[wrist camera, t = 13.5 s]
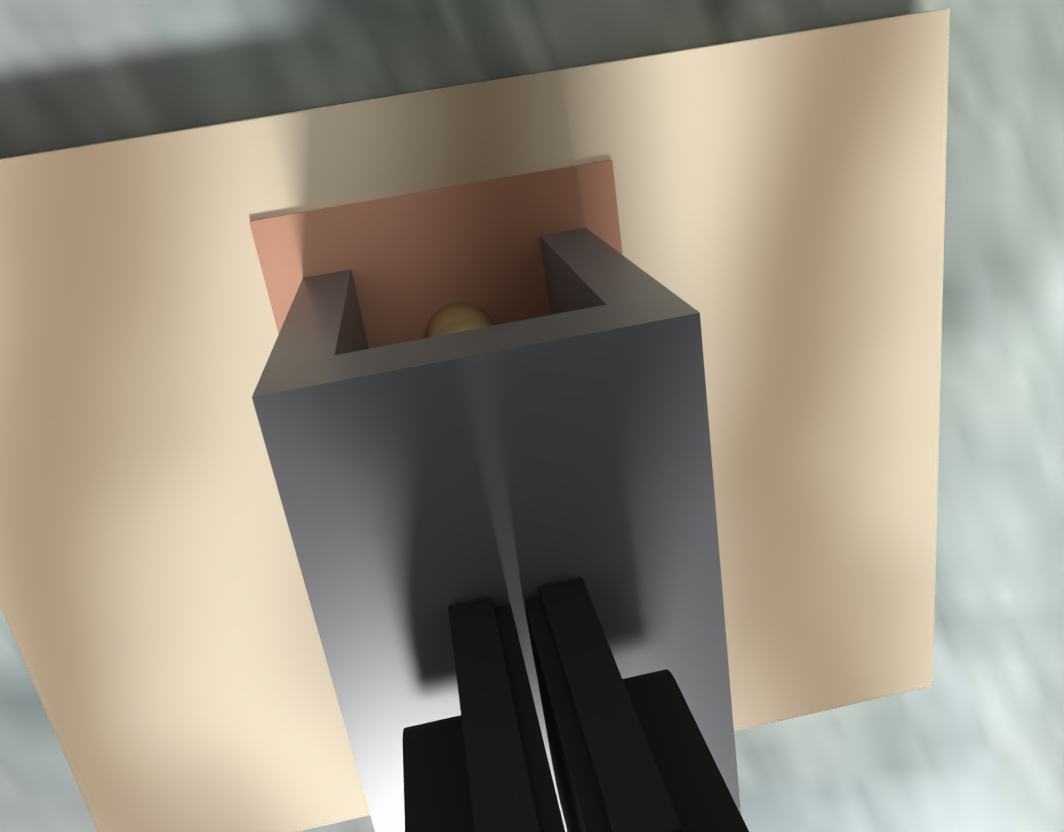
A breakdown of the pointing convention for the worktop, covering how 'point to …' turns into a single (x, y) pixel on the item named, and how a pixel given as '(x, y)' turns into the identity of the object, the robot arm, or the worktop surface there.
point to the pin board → (448, 307)
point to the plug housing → (499, 493)
